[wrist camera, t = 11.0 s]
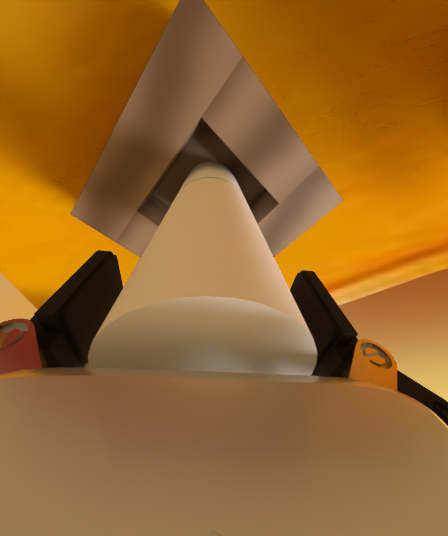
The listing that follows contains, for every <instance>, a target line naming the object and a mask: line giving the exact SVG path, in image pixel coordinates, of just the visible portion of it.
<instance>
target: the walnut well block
mask: <svg viewBox="0 0 448 536" xmlns="http://www.w3.org/2000/svg"><path fill="white" fill-rule="evenodd" d="M206 161H214V162H219V163H221V164H223V165H225V166H226V167H227V168H228V169H229V170H230V171H231V172H232V173H233V175H234V177H235V179H236V181H237V183H238V185H239V187H240V189H241V191H242V193H243V195H244V197H245V199H246V202H247V204H248V206H249V208H250V210H251V212H252V214H253V216H254V218H255V220H256V222H257V224H258V226H259V228H260V230H261V232H262V234H263V236H264V238H265V241H266V243H267V245H268V247H269V249H270V251H271V253H272V255H273V257H275V256H276V255H277V254H278V253H279V252H281V251H282V250H283V249H284V248H286V247H287V246H288V245H289V244H290V243H292V242H293V241H294V240H295V239H296V238H298V237H299V236H300V235H301V234H303V233H304V232H305V231H306V230H307V229H309V228H310V227H311V226H312V225H314V224H315V223H316V222H317V221H318V220H320V219H321V218H322V217H323V216H324V215H326V214H327V213H328V212H329V211H331V210H332V209H333V208H334V207H335V206H337V205H338V204H339V203H340V202H342V201H343V200H342V198H341V197H340V195H339V194H338V193H337V191H336V190H335V188H334V187H333V185H332V184H331V182H330V181H329V180H328V178H327V177H326V175H325V174H324V172H323V171H322V170H321V168H320V167H319V165H318V164H317V162H316V161H315V159H314V158H313V157H312V155H311V154H310V152H309V151H308V149H307V148H306V147H305V145H304V144H303V142H302V141H301V139H300V138H299V136H298V135H297V134H296V132H295V131H294V129H293V128H292V126H291V125H290V123H289V122H288V121H287V119H286V118H285V116H284V115H283V113H282V112H281V111H280V109H279V108H278V106H277V105H276V103H275V102H274V100H273V99H272V98H271V96H270V95H269V93H268V92H267V90H266V89H265V88H264V86H263V85H262V83H261V82H260V80H259V79H258V77H257V76H256V75H255V73H254V72H253V70H252V69H251V67H250V66H249V65H248V63H247V62H246V60H245V59H244V57H243V56H242V54H241V53H240V52H239V50H238V49H237V47H236V46H235V44H234V43H233V41H232V40H231V39H230V37H229V36H228V34H227V33H226V31H225V30H224V29H223V27H222V26H221V24H220V23H219V21H218V20H217V18H216V17H215V16H214V14H213V13H212V11H211V10H210V8H209V7H208V6H207V4H206V3H205V1H204V0H180V1H179V3H178V5H177V7H176V9H175V11H174V13H173V14H172V16H171V18H170V20H169V22H168V24H167V26H166V28H165V30H164V32H163V34H162V36H161V38H160V40H159V42H158V44H157V46H156V48H155V50H154V52H153V54H152V56H151V58H150V59H149V61H148V63H147V65H146V67H145V69H144V71H143V73H142V75H141V77H140V79H139V81H138V83H137V85H136V87H135V89H134V91H133V93H132V95H131V97H130V99H129V101H128V103H127V104H126V106H125V108H124V110H123V112H122V114H121V116H120V118H119V120H118V122H117V124H116V126H115V128H114V130H113V132H112V134H111V136H110V138H109V140H108V142H107V144H106V146H105V148H104V149H103V151H102V153H101V155H100V157H99V159H98V161H97V163H96V165H95V167H94V169H93V171H92V173H91V175H90V177H89V179H88V181H87V183H86V185H85V187H84V189H83V191H82V192H81V194H80V196H79V198H78V200H77V202H76V204H75V206H74V208H73V210H72V212H71V215H73V216H74V217H76V218H78V219H79V220H81V221H82V222H84V223H86V224H87V225H89V226H91V227H92V228H94V229H95V230H97V231H99V232H100V233H102V234H103V235H105V236H107V237H108V238H110V239H112V240H113V241H115V242H116V243H118V244H120V245H121V246H123V247H124V248H126V249H128V250H129V251H131V252H133V253H134V254H136V255H137V256H139V257H141V256H142V255H143V253H144V251H145V249H146V248H147V246H148V244H149V243H150V241H151V239H152V237H153V236H154V234H155V232H156V230H157V229H158V227H159V225H160V224H161V222H162V220H163V218H164V217H165V215H166V213H167V211H168V210H169V208H170V206H171V205H172V203H173V201H174V199H175V198H176V196H177V194H178V192H179V191H180V189H181V187H182V185H183V184H184V182H185V180H186V178H187V177H188V175H189V173H190V172H191V170H192V169H193V168H194V167H195V166H197V165H198V164H200V163H203V162H206Z"/></svg>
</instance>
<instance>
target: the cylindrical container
mask: <svg viewBox="0 0 448 536" xmlns="http://www.w3.org/2000/svg"><path fill="white" fill-rule="evenodd" d="M88 363H89V368H119V369H151V370H182V371H210V372H236V373H262V374H285V375H308V376H311V374H312V373H313V370H314V368H315V366H316V363H317V349H316V346H315V343H314V339H313V337H312V335H311V333H310V331H309V329H308V327H307V325H306V323H305V321H304V319H303V317H302V314H301V312H300V310H299V308H298V306H297V304H296V302H295V300H294V298H293V296H292V294H291V292H290V290H289V288H288V286H287V284H286V282H285V280H284V278H283V275H282V273H281V271H280V269H279V267H278V265H277V263H276V261H275V259H274V257H273V255H272V253H271V251H270V249H269V247H268V245H267V243H266V241H265V238H264V236H263V234H262V232H261V230H260V228H259V226H258V224H257V222H256V220H255V218H254V216H253V214H252V212H251V210H250V208H249V206H248V204H247V202H246V199H245V197H244V195H243V193H242V191H241V189H240V187H239V185H238V183H237V181H236V179H235V177H234V175H233V173H232V172H231V171H230V170H229V169H228V168H227V167H226V166H225V165H223V164H221V163H219V162H214V161H206V162H203V163H200V164H198V165H197V166H195V167H194V168H193V169H192V170H191V172H190V173H189V175H188V177H187V178H186V180H185V182H184V184H183V185H182V187H181V189H180V191H179V192H178V194H177V196H176V198H175V199H174V201H173V203H172V205H171V206H170V208H169V210H168V211H167V213H166V215H165V217H164V218H163V220H162V222H161V224H160V225H159V227H158V229H157V230H156V232H155V234H154V236H153V237H152V239H151V241H150V243H149V244H148V246H147V248H146V249H145V251H144V253H143V255H142V256H141V258H140V260H139V262H138V263H137V265H136V267H135V268H134V270H133V272H132V274H131V275H130V277H129V279H128V281H127V282H126V284H125V286H124V288H123V289H122V291H121V293H120V294H119V296H118V298H117V300H116V301H115V303H114V305H113V307H112V308H111V310H110V312H109V313H108V315H107V317H106V319H105V320H104V322H103V324H102V326H101V327H100V329H99V331H98V332H97V334H96V336H95V338H94V339H93V341H92V344H91V347H90V350H89V353H88Z"/></svg>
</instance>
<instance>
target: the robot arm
mask: <svg viewBox="0 0 448 536" xmlns="http://www.w3.org/2000/svg"><path fill="white" fill-rule="evenodd" d="M122 289H123V285H122V280H121V275H120V270H119V265H118V260H117V256H116V255H113V253H112V252H110V251H100V250H99V251H96V252H95V253H94V254H93V255H92V256H91V257H90V258H89V259H88V260H87V261H86V262H85V263H84V264H83V265H82V266H81V267H80V268H79V269H78V270H77V271H76V272H75V273H74V274H73V275H72V276H71V277H70V278H69V279H68V280H67V281H66V282H65V283H64V284H63V285H62V286H61V287H60V288H59V289H58V290H57V291H56V292H55V293H54V294H53V295H52V296H51V297H50V298H49V299H48V300H47V301H46V302H45V303H44V304H43V305H42V306H41V307H40V308H39V309H38V310H37V312H35V315H34V316H33V317H32V318H31V320H28V319H12V320H8V321H4V322H2V323H0V536H448V402H447V401H446V400H444V399H443V398H441V397H439V396H438V395H436V394H434V393H433V392H431V391H430V390H428V389H427V388H425V387H423V386H422V385H420V384H419V383H417V382H415V381H414V380H412V379H411V378H409V377H407V376H406V375H404V374H403V373H401V372H399V371H398V370H397V365H396V361H395V360H394V358H393V356H392V355H391V354H390V353H389V352H388V351H387V350H386V349H385V348H383V347H382V346H381V345H379V344H377V343H376V342H373V341H371V340H367V339H361V340H359V341H358V339H357V338H356V336H357V335H358V334H357V332H356V331H355V329H354V328H353V326H352V325H351V324H350V322H349V321H348V319H347V318H346V316H345V315H344V314H343V312H342V311H341V309H340V308H339V307H338V305H337V304H336V302H335V301H334V299H333V298H332V297H331V295H330V294H329V292H328V291H327V289H326V288H325V287H324V285H323V284H322V282H321V281H320V280H319V278H318V277H317V275H316V274H315V273H314V272H313V271H304V270H303V271H301V272H300V273H298V274H297V275H296V277H295V280H294V282H293V284H292V287H291V289H290V292H291V294H292V296H293V298H294V300H295V302H296V304H297V306H298V308H299V310H300V312H301V314H302V317H303V319H304V321H305V323H306V325H307V327H308V329H309V331H310V333H311V335H312V337H313V339H314V343H315V346H316V349H317V363H316V366H315V368H314V370H313V373H312V374H311V376H308V375H285V374H262V373H236V372H210V371H182V370H151V369H119V368H84V367H85V365H86V364H87V363H88V353H89V350H90V347H91V344H92V341H93V339H94V338H95V336H96V334H97V332H98V331H99V329H100V327H101V326H102V324H103V322H104V320H105V319H106V317H107V315H108V313H109V312H110V310H111V308H112V307H113V305H114V303H115V301H116V300H117V298H118V296H119V294H120V293H121V291H122Z"/></svg>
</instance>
